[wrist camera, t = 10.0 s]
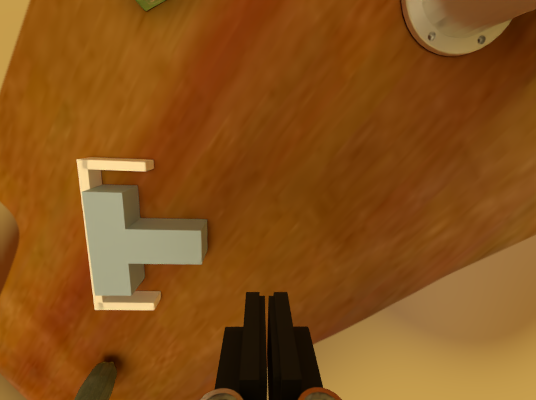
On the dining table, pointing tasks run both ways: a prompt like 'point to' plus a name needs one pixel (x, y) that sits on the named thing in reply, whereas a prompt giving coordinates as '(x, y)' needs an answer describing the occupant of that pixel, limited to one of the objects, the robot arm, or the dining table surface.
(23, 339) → the dining table surface
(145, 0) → the ink box
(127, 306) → the dock
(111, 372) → the vegetable
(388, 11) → the dining table surface
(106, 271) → the t block
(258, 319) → the robot arm
